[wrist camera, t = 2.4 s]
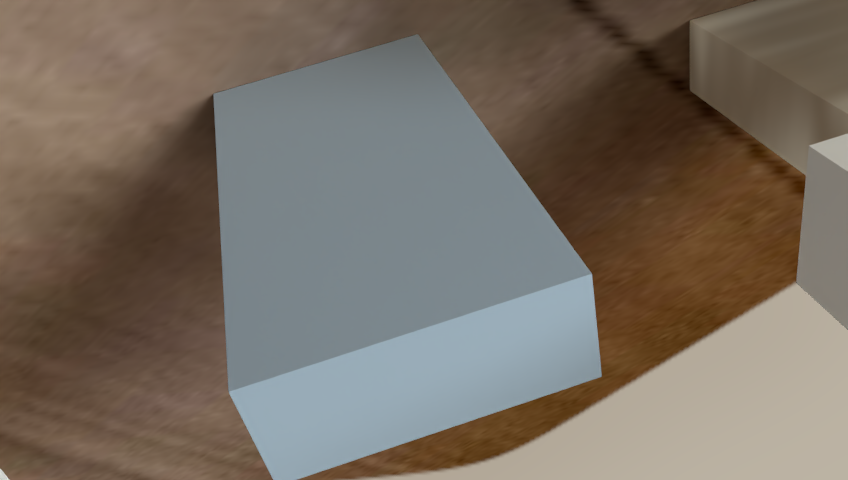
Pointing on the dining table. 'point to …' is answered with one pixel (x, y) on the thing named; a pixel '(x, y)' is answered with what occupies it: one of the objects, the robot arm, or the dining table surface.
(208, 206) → the dining table surface
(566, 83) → the dining table surface
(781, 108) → the domino
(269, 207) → the domino
